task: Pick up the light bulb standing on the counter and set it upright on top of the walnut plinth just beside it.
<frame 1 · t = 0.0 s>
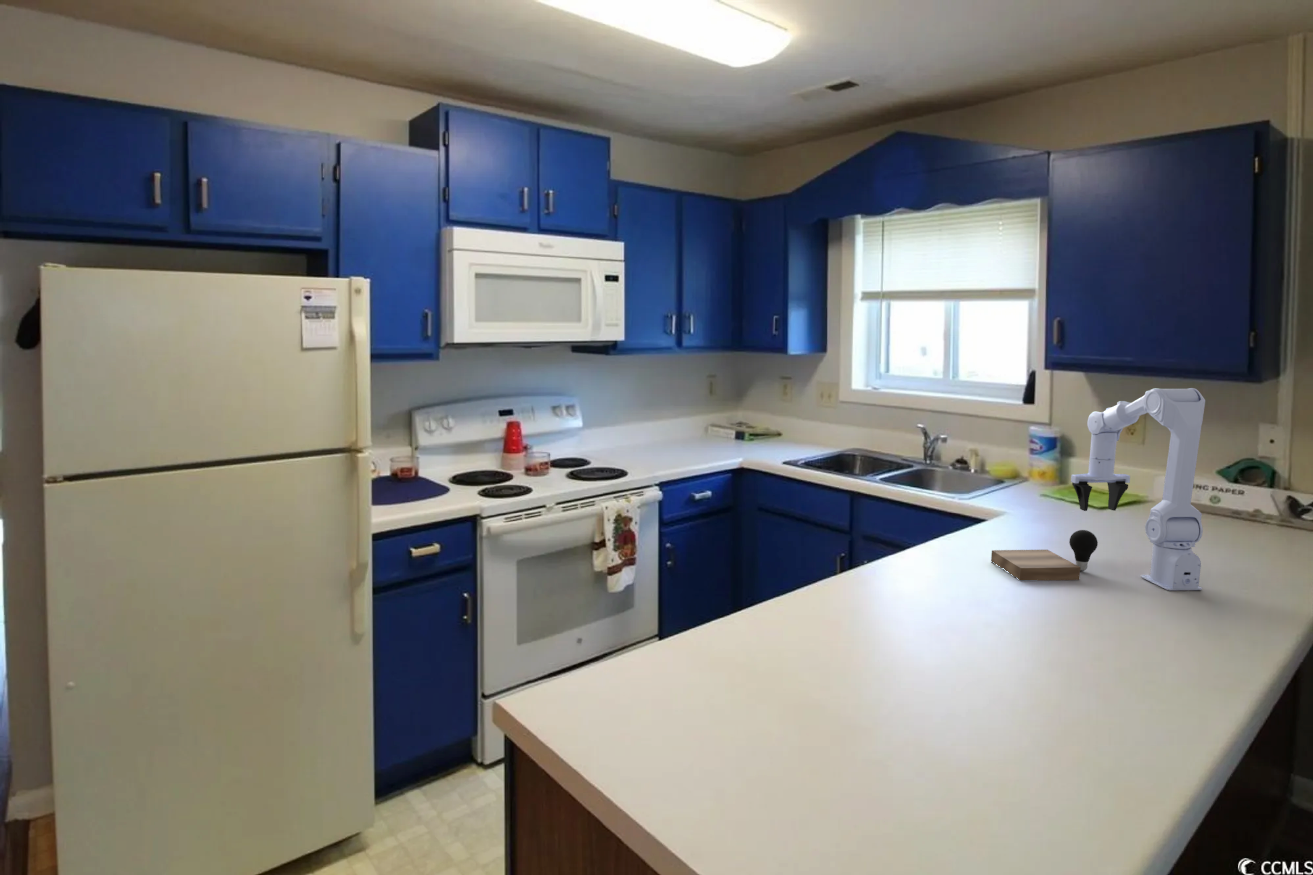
hand: (1097, 509, 206), 10 cm above the table, tool pointing down, fingers open, 7 cm apart
walnut plinth: (1033, 570, 189), on the table
light bulb: (1080, 572, 188), on the table
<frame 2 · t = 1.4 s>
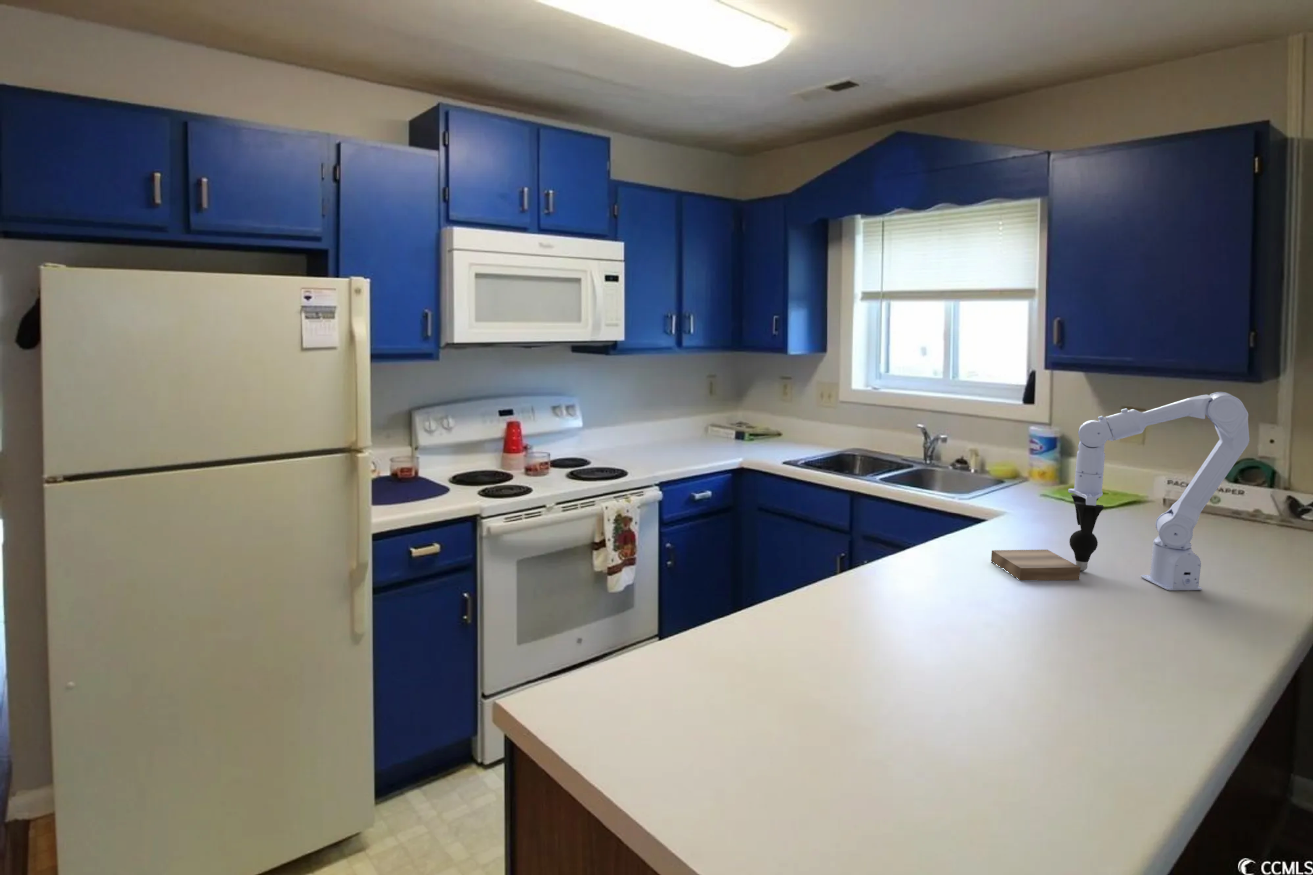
hand: (1084, 528, 187), 10 cm above the table, tool pointing down, fingers open, 7 cm apart
nothing on the table moved.
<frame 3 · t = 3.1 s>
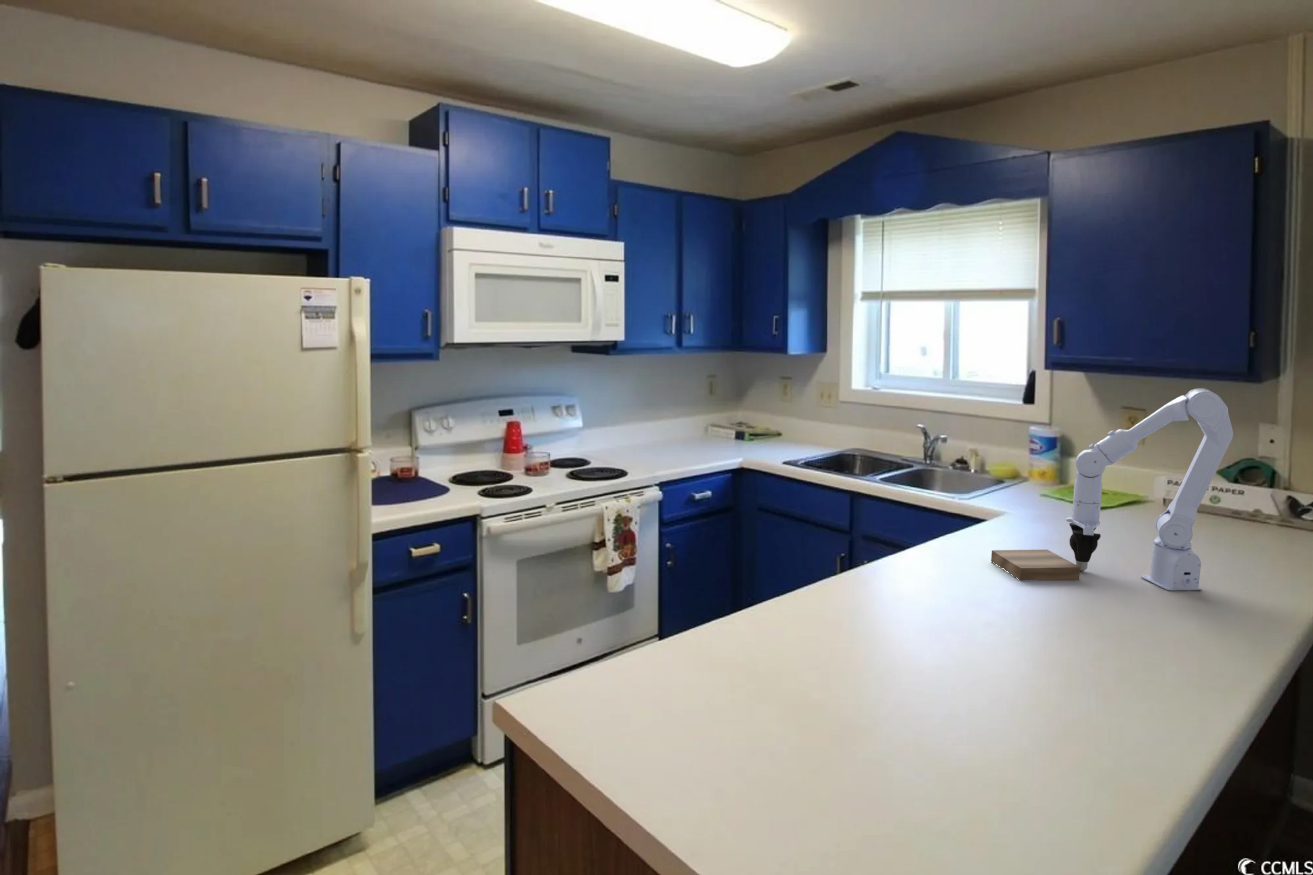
hand: (1082, 557, 188), 3 cm above the table, tool pointing down, fingers closed on light bulb, 6 cm apart
light bulb: (1080, 572, 188), on the table, touching gripper
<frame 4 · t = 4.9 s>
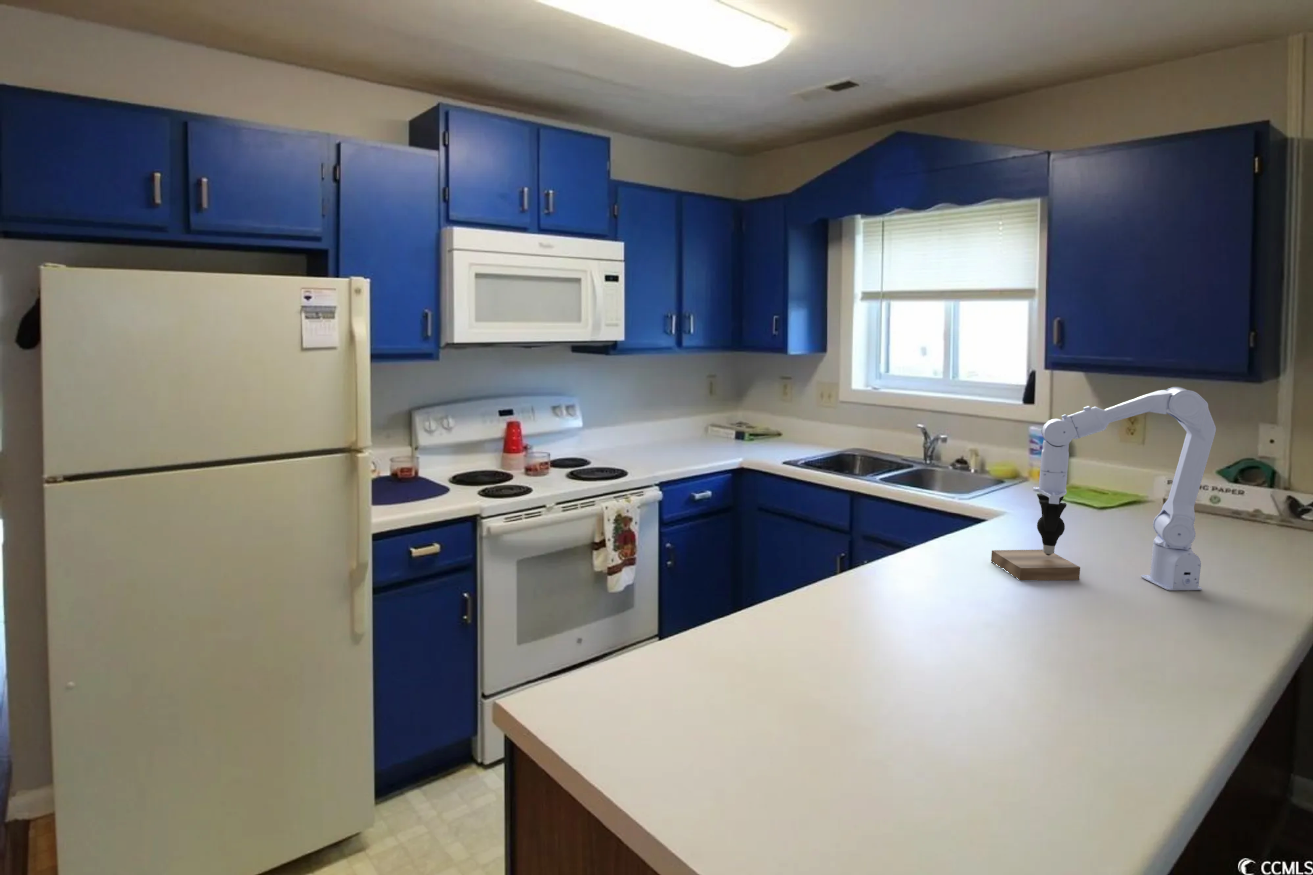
hand: (1048, 527, 187), 11 cm above the table, tool pointing down, fingers closed on light bulb, 6 cm apart
light bulb: (1048, 556, 188), point 4 cm above the table, touching gripper
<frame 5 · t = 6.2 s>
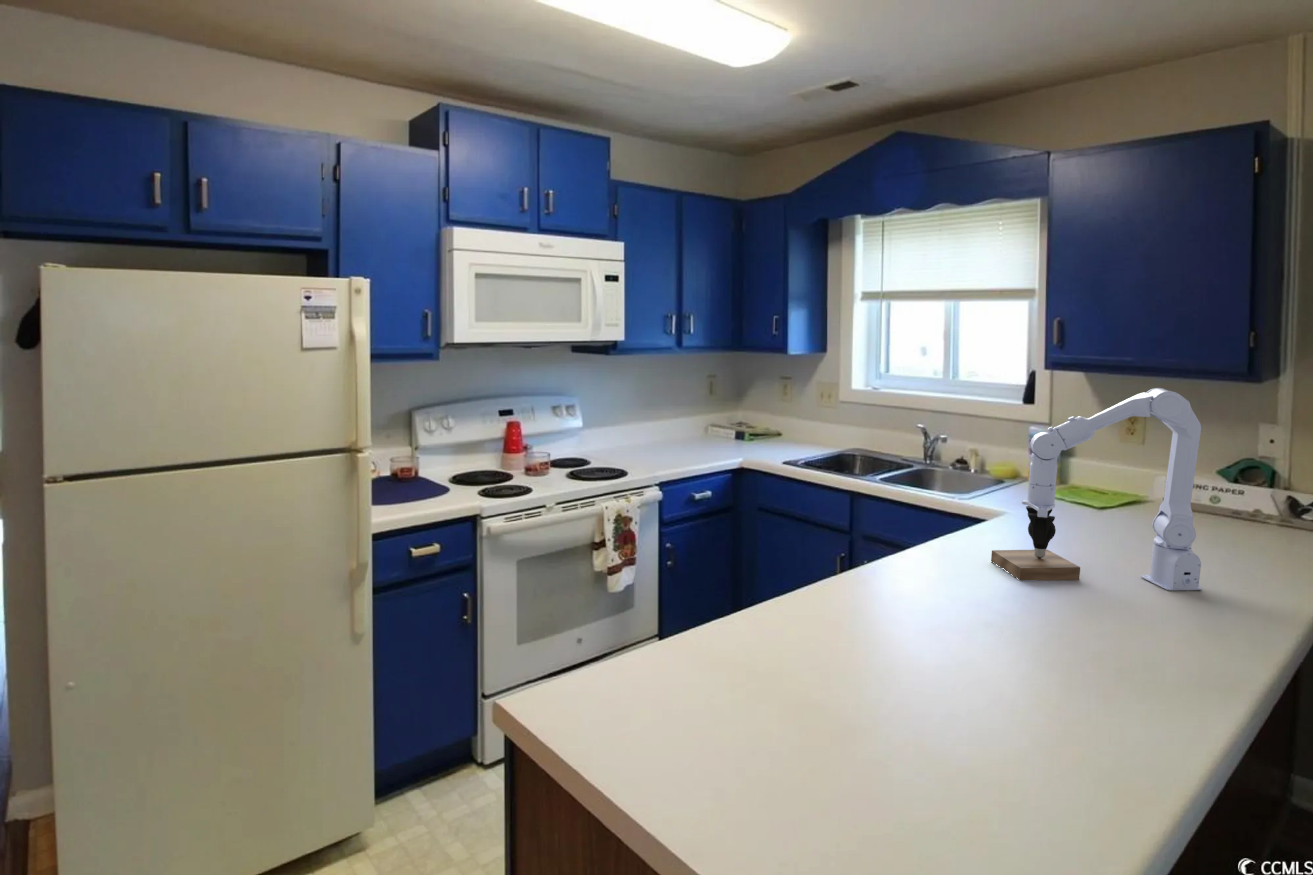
hand: (1037, 540, 188), 7 cm above the table, tool pointing down, fingers closed on light bulb, 6 cm apart
light bulb: (1039, 559, 188), point 3 cm above the table, touching gripper, walnut plinth
when the fingers open (7 cm above the table, at t = 7.1 s): light bulb stays where it is, resting on walnut plinth.
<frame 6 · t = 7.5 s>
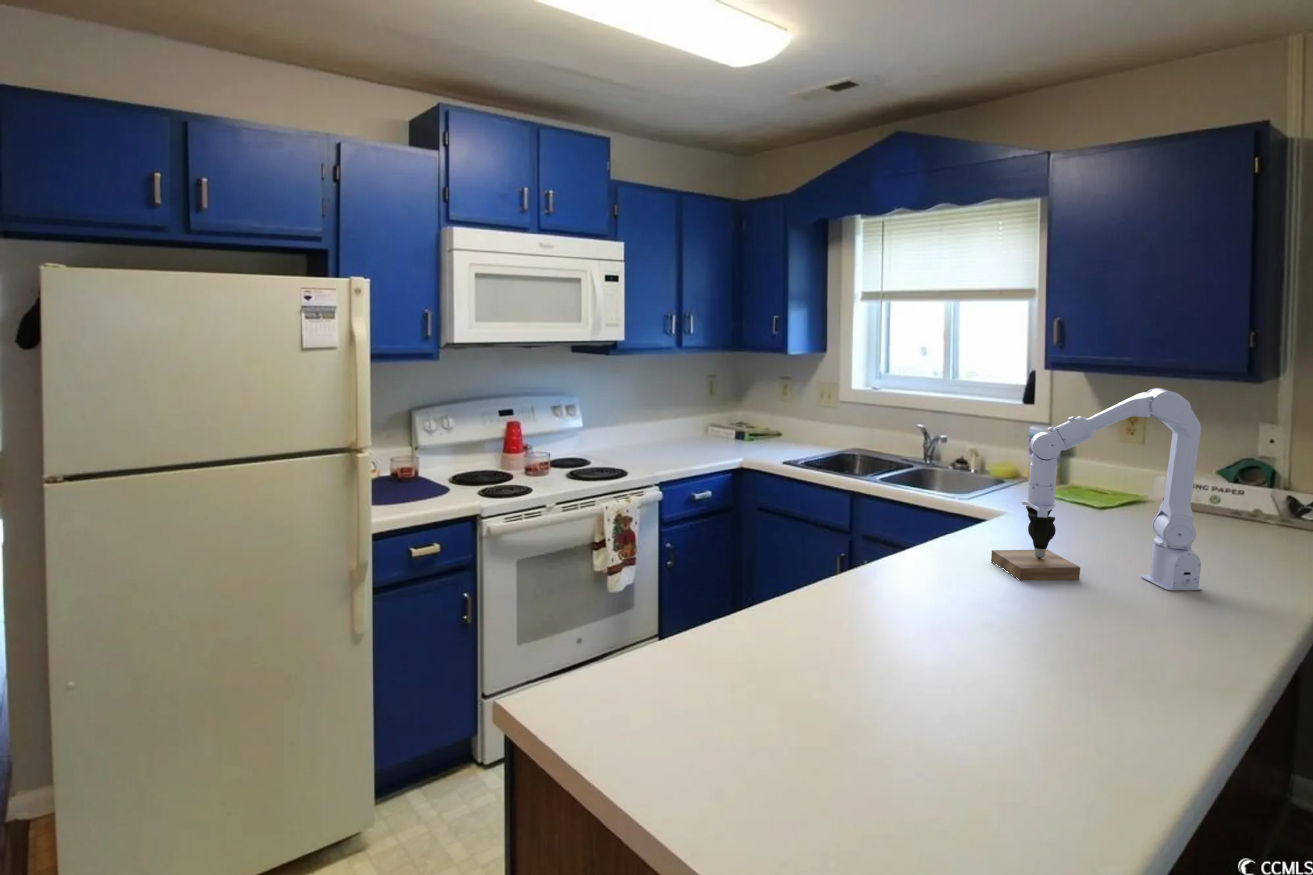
hand: (1037, 540, 188), 7 cm above the table, tool pointing down, fingers open, 7 cm apart
light bulb: (1039, 559, 188), point 3 cm above the table, touching walnut plinth
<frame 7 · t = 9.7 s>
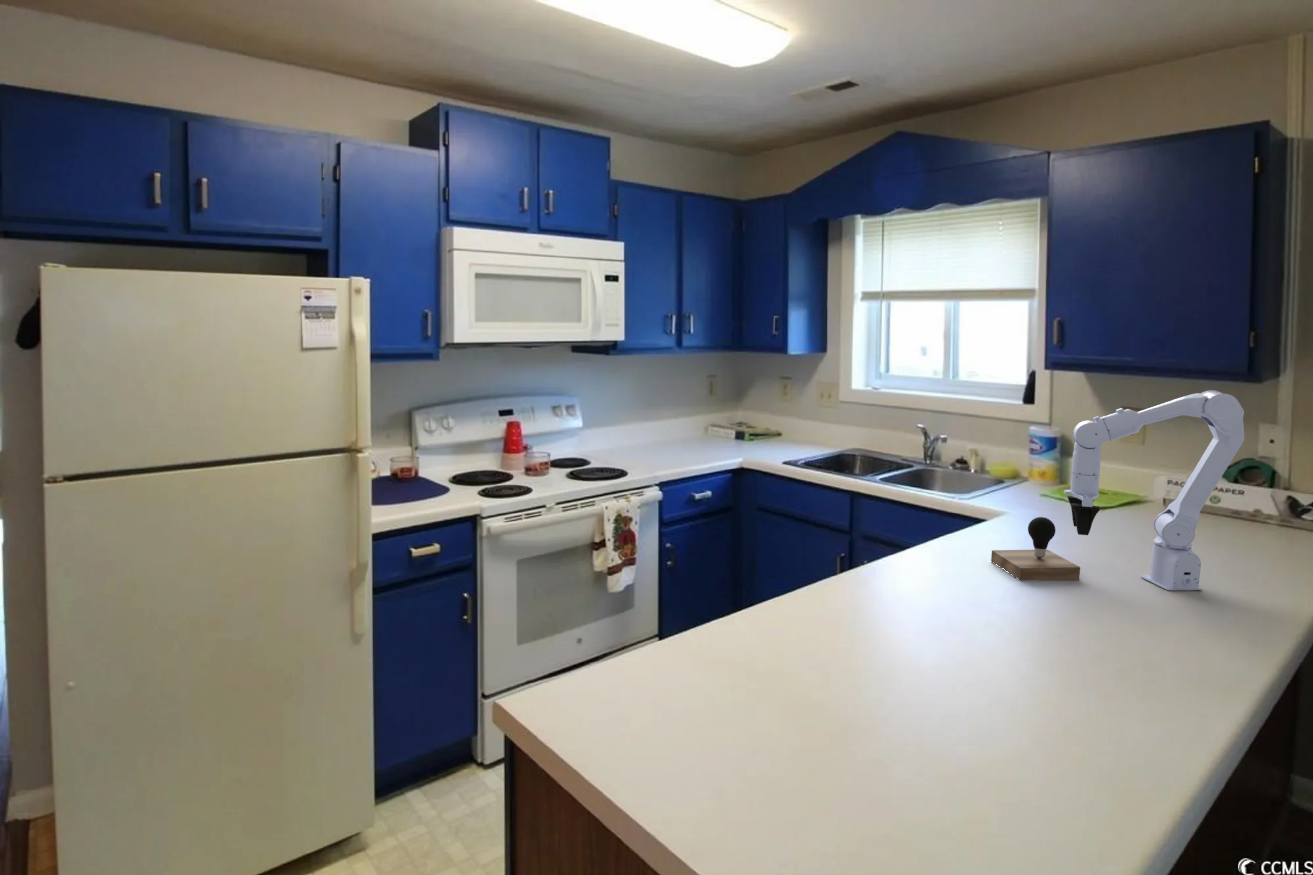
hand: (1080, 530, 185), 10 cm above the table, tool pointing down, fingers open, 7 cm apart
nothing on the table moved.
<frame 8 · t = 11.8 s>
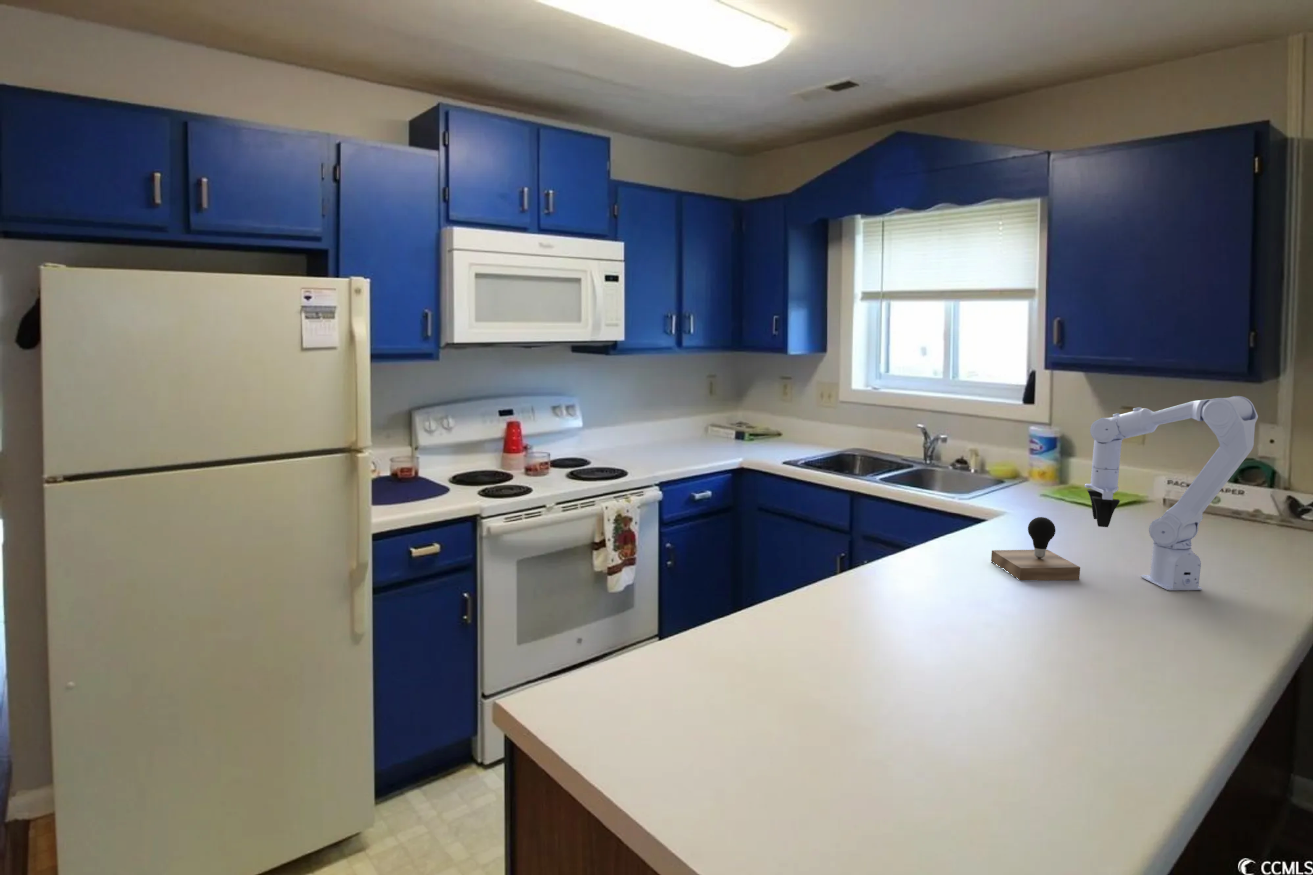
hand: (1100, 522, 192), 10 cm above the table, tool pointing down, fingers open, 7 cm apart
nothing on the table moved.
at the end: light bulb inside the target area on the walnut plinth (1.1 cm from its centre), point 2.8 cm above the walnut plinth's base; light bulb tilted 0°; the gripper is holding nothing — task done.
